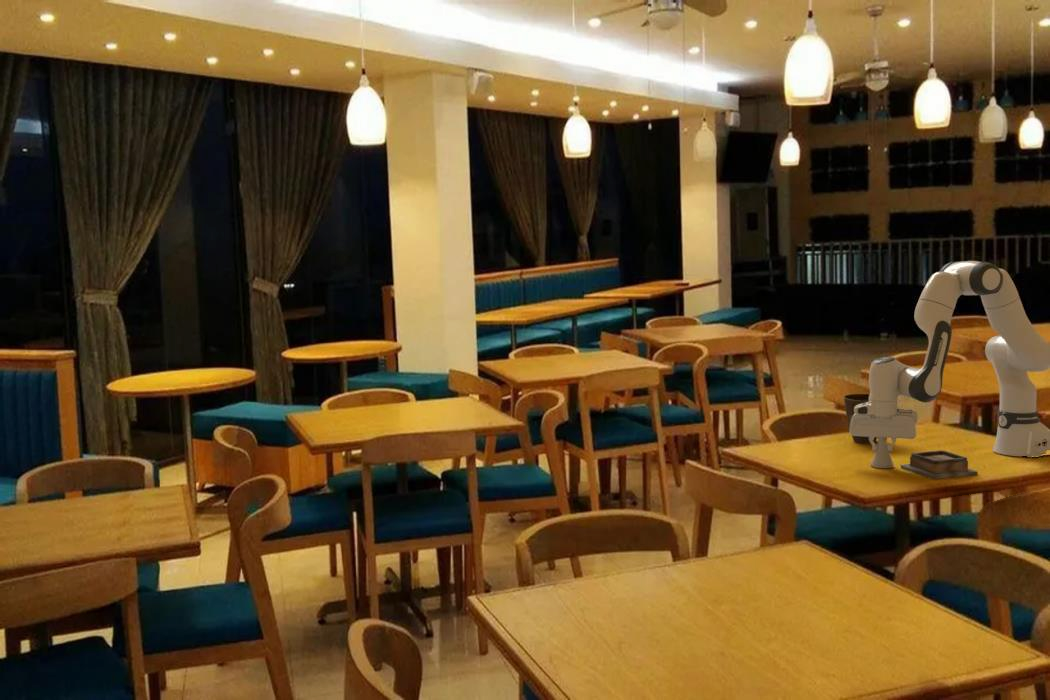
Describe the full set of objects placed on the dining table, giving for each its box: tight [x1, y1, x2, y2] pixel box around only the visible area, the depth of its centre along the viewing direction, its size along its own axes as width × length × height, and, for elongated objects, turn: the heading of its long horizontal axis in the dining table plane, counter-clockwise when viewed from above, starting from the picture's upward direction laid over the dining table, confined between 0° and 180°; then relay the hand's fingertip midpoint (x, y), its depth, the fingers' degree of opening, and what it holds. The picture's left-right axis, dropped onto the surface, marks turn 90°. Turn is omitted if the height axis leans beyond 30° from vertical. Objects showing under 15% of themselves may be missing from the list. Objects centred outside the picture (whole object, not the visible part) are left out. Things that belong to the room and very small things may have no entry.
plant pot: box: [843, 393, 878, 444], centre depth 374 cm, size 15×15×16 cm
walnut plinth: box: [900, 450, 979, 480], centre depth 330 cm, size 16×16×5 cm
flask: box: [870, 437, 895, 469], centre depth 337 cm, size 7×7×10 cm
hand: (882, 450), depth 337 cm, fingers closed on flask, 3 cm apart
